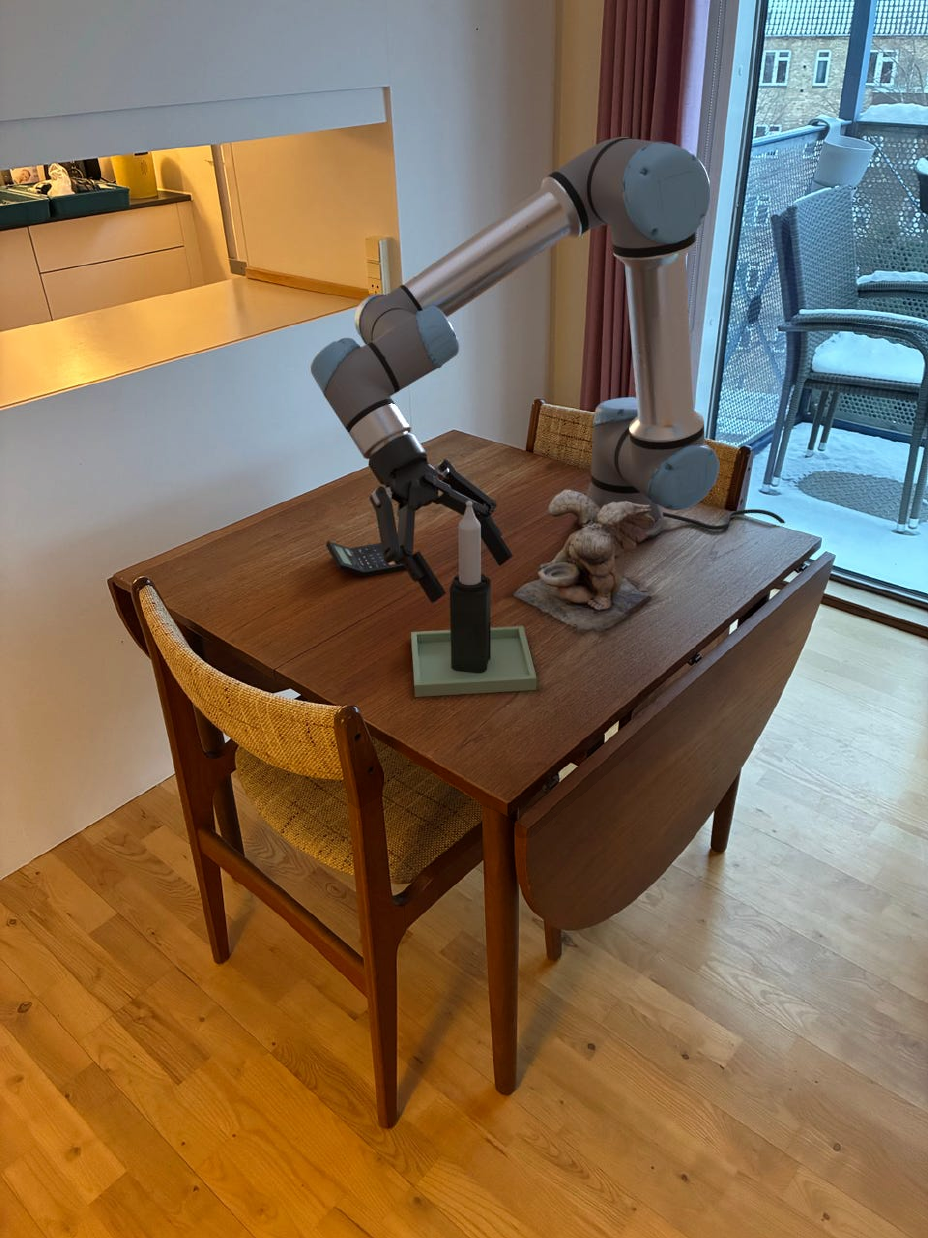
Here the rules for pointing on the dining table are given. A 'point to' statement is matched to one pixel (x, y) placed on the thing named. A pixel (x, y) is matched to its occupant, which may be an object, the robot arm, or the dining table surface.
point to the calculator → (362, 559)
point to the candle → (470, 602)
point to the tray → (438, 678)
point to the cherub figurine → (591, 564)
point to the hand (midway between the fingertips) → (473, 579)
